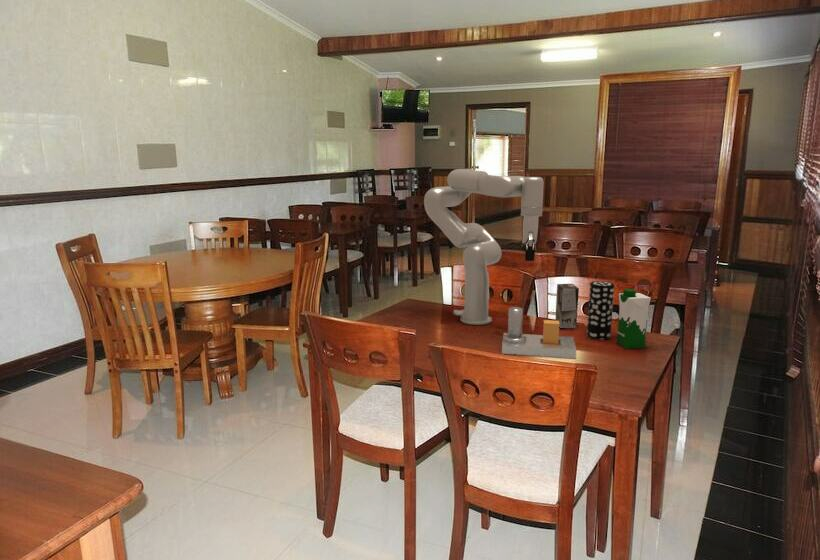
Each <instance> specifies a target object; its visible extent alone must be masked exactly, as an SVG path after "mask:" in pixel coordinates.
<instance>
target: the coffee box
mask: <svg viewBox="0 0 820 560" xmlns="http://www.w3.org/2000/svg"><path fill="white" fill-rule="evenodd" d="M579 292H580V288H579V287H578V286H576V285H575V284H573V283H557V284H556V297H555V298H556V301H555V302H556V303H555V304H556V305H555V320H554V321H559V327H560V328H576V329H577V324H578V323H577V321H578V308H579V307H578V305H579ZM560 328H559V329H560Z"/></svg>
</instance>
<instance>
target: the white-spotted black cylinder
mask: <svg viewBox="0 0 820 560" xmlns="http://www.w3.org/2000/svg"><path fill="white" fill-rule="evenodd" d="M588 293H589V295H588V310H587V312H588V313H587V328H586V337H587V336H588V337H590V338H589V339H591V338H593V339H592V340H595V339H599V340H598V341H601V340H600V339H608V340H610V339H611V335H612V332H611V331H612V320H613V307H614V306H613V305H614V294H615V283H614V282H610V281H604V280H603V281H602V280H600V281H599V280H596V281H595V280H594V281H590V282H589V292H588ZM588 337H587V338H588ZM609 338H610V339H609Z"/></svg>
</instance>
